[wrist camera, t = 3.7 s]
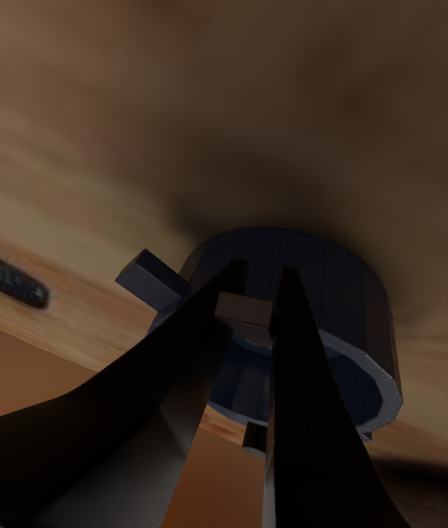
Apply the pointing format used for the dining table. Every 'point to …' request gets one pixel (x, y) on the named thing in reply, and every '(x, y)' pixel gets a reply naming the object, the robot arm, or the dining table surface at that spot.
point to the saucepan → (266, 287)
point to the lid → (251, 435)
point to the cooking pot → (419, 499)
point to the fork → (247, 317)
